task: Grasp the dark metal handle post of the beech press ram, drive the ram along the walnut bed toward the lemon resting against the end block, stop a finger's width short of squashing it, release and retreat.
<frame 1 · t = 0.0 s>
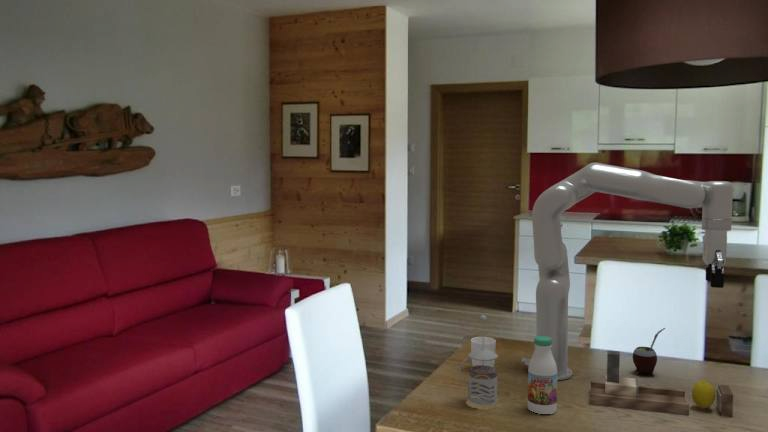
hand: (714, 283, 185), 31 cm above the table, tool pointing down, fingers open, 9 cm apart
press ram: (621, 374, 180), point 8 cm above the table, slide at 0.0 cm
jaw block: (724, 411, 172), on the table
translucent flanged cylinder: (483, 371, 207), on the table
lemon: (702, 409, 174), on the table
milk bottle: (542, 410, 175), on the table
press bed: (637, 402, 179), on the table
french press: (479, 403, 180), on the table
mate gourd: (645, 374, 202), on the table
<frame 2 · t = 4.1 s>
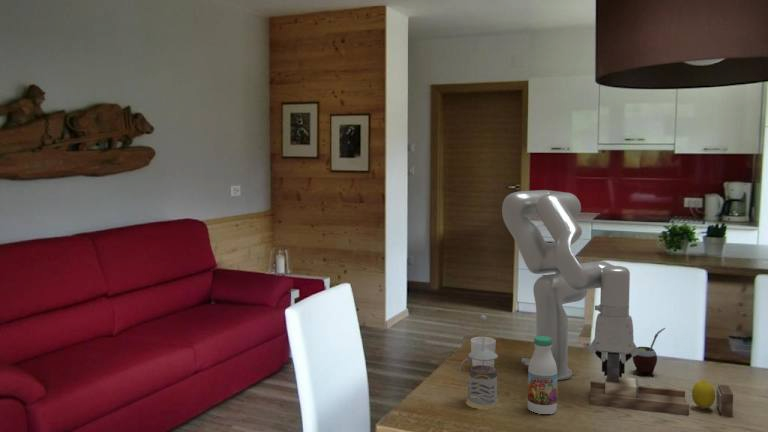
hand: (613, 374, 181), 7 cm above the table, tool pointing down, fingers closed on press ram, 3 cm apart
press ram: (621, 374, 180), point 8 cm above the table, slide at 0.0 cm, touching gripper
everything else where it was.
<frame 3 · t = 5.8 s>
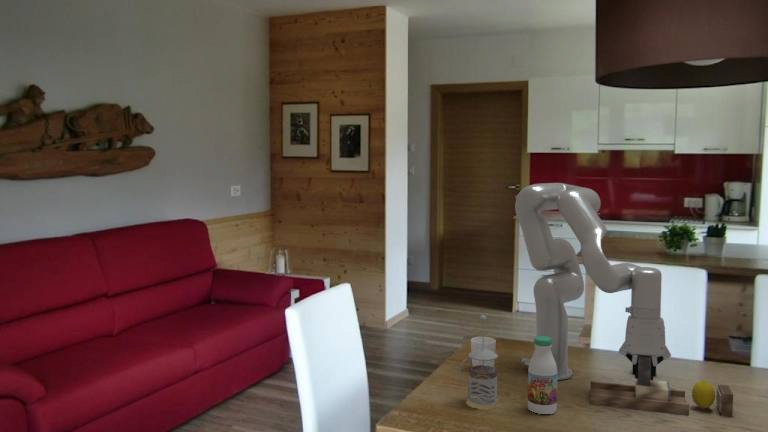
hand: (644, 377, 178), 7 cm above the table, tool pointing down, fingers closed on press ram, 3 cm apart
press ram: (652, 377, 177), point 8 cm above the table, slide at 8.0 cm, touching gripper
everything else where it was.
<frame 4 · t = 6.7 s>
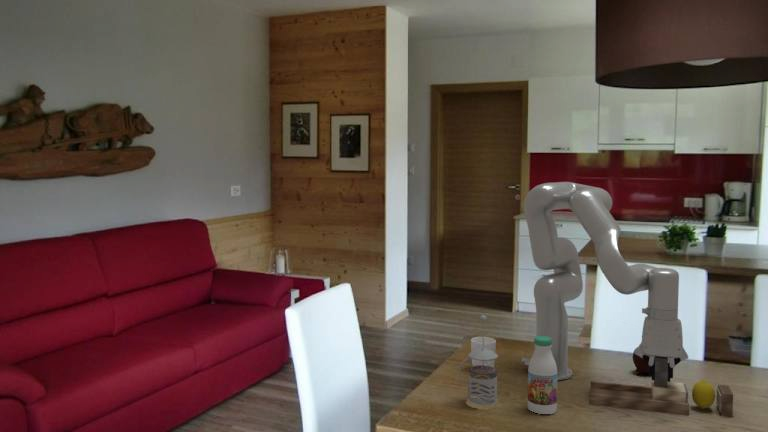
hand: (660, 379, 177), 7 cm above the table, tool pointing down, fingers closed on press ram, 3 cm apart
press ram: (669, 378, 176), point 8 cm above the table, slide at 12.3 cm, touching gripper
everything else where it was.
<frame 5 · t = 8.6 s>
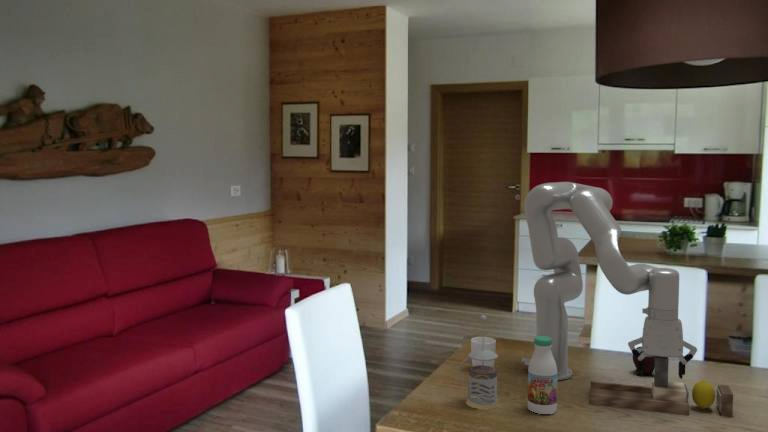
hand: (661, 375, 177), 8 cm above the table, tool pointing down, fingers open, 9 cm apart
press ram: (670, 378, 176), point 8 cm above the table, slide at 12.4 cm
everything else where it was.
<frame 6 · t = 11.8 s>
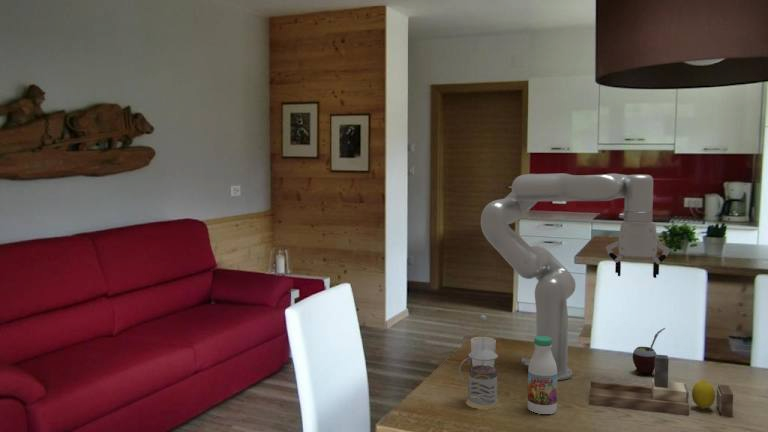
hand: (636, 276, 187), 33 cm above the table, tool pointing down, fingers open, 9 cm apart
nothing on the table moved.
at the end: press ram slide at 12.4 cm; lemon moved 0.2 cm from its start; the gripper is holding nothing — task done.
